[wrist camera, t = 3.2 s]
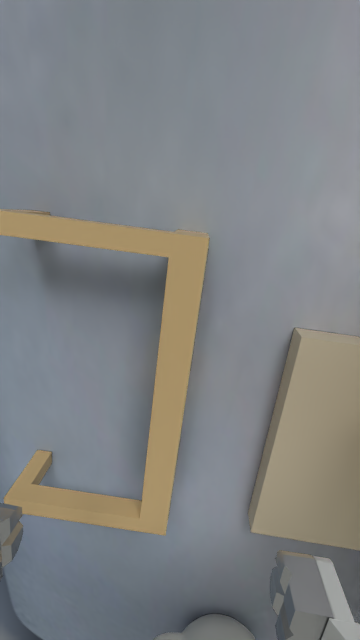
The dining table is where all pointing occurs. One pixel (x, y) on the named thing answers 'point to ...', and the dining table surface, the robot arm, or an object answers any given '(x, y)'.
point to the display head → (313, 446)
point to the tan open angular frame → (169, 382)
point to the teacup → (211, 630)
